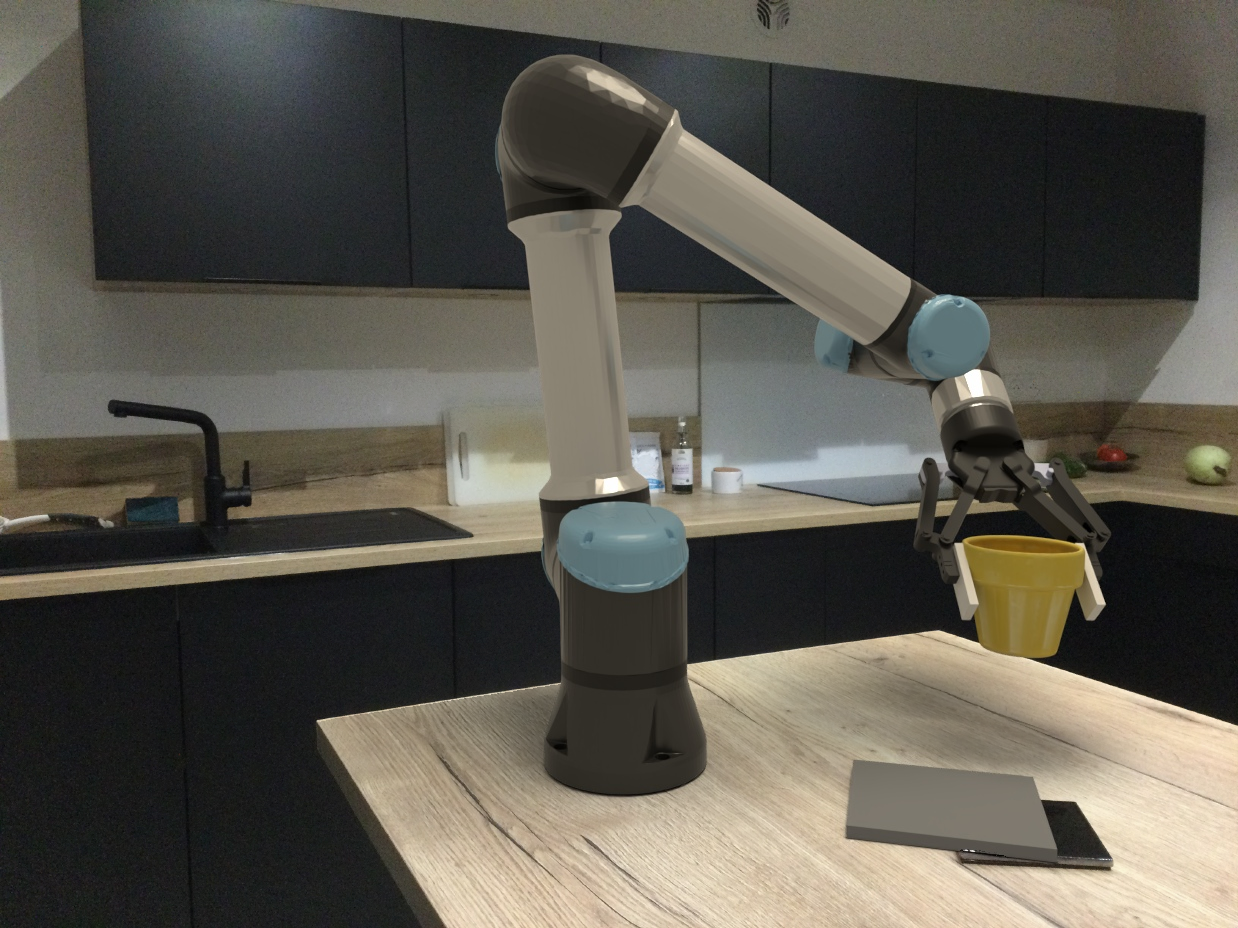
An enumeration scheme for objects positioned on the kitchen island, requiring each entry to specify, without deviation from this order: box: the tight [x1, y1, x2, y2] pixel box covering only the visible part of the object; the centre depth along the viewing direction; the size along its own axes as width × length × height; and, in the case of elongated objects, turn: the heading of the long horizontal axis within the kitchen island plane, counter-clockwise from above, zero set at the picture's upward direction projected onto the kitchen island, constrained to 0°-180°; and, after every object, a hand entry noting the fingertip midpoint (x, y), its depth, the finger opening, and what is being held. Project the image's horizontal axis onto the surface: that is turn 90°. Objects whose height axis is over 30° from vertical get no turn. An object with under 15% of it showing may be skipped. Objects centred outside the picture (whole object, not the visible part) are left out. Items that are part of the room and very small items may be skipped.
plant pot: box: [961, 534, 1085, 659], centre depth 88 cm, size 10×10×10 cm
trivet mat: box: [845, 758, 1058, 863], centre depth 78 cm, size 15×13×1 cm
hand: (1033, 612), depth 85 cm, fingers closed on plant pot, 10 cm apart
